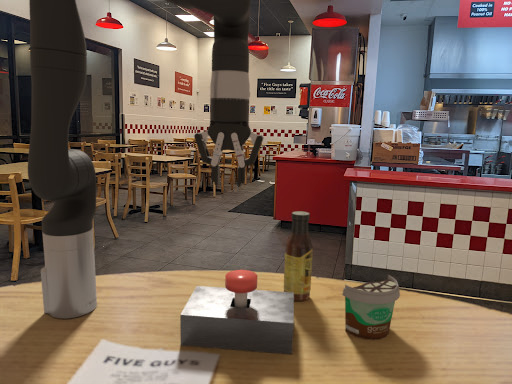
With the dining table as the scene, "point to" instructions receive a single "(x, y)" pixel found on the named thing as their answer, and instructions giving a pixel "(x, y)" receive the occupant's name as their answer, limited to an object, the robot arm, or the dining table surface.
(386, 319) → the food container
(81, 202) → the robot arm
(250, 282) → the red button
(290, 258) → the sauce bottle
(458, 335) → the dining table surface
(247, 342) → the console
